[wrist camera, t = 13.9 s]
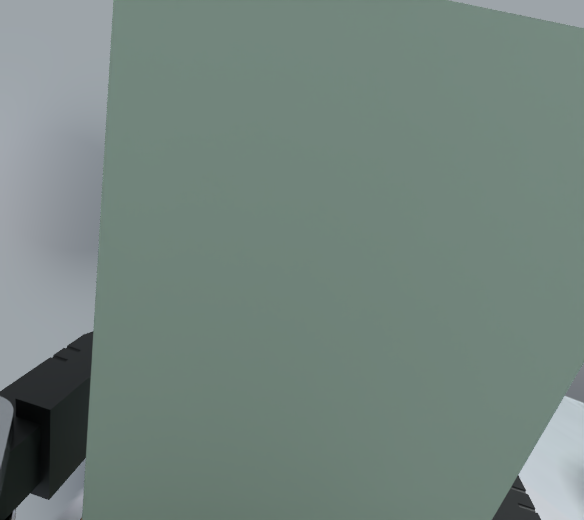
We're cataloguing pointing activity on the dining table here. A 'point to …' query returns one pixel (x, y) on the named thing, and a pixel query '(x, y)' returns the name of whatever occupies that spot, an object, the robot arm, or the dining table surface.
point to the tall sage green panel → (332, 258)
